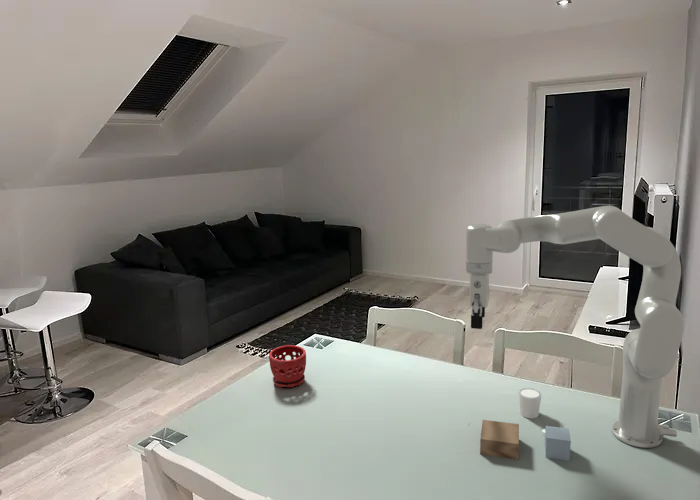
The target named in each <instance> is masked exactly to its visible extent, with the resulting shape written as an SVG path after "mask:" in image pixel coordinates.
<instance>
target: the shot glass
mask: <svg viewBox="0 0 700 500" xmlns="http://www.w3.org/2000/svg"><path fill="white" fill-rule="evenodd" d="M517 392H518V393H517V394H518V395H517V396H518V407H519V408H518V410H519V411H518V412H519V414H520V416H522V417H523V418H526V419H535V418H536V419H537V418H538V417H539V414H540V413H539V412H540V406H541V400H542V393H541V391H540V390H538V389H535V388H529V387H522V388H520V389H519V390H518V391H517Z"/></svg>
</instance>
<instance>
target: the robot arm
mask: <svg viewBox="0 0 700 500" xmlns="http://www.w3.org/2000/svg"><path fill="white" fill-rule="evenodd" d="M465 234H466V235H465V273H466V274H469V306H470V307H471V314H470V328H471V329H474V330H475V329H476V330H477V329H478V330H481V329H483V320H484V319H483V318H485V316H486V308H488V305H489V301H490V294H489V293H490V291H489V290H490V275H491V274H492V273H493V258H494V257H493V256H494V252H496V253H503V254H511V253H514V252H517V251H518V250H519V248H520V246H521V245H522V244H526V243H534V242H547V243H551V244H555V245H557V244H558V245H569V244H574V243H581V242H587V241H594V240H601V241H602V242H604V243H605V244H606V245H609V246H610V247H611V248H613V249H615V250H616V251H618V252H620V253H621V254H623V255H625V256H626V257H628V258H630V259H631V260H633V261H635V262H637V263H638V264H640V265H642V267H643V268H642V269H643V270H642V271H643V272H642V281H641V285H640V289H639V293H638V297H637V300H636V305H635V308H634V314H635V318H636V320H637V322H638V323H639V326H640V327H638V328H635V329H632V330H631V331H630V332H629V333H628V334H626V336H625V338H624V340H623V346H622V362H623V363H622V378H621V379H622V380H621V390H620V399H619V400H620V401H619V415H618V421H616V422H614V423H613V424H612V426H611V432H612V434H613V435H614V437H615V438H616V439H618V440H619V441H621V442H623V443H625V444H627V445H630V446H633V447H638V448H644V449H645V448H646V449H647V448H648V449H649V448H655V447H659V446H660V445H662V442H663V437H664V436H667V437H673V438H676V437H677V434H678V432H677V429H671V428H670V426H669V425H666V424H660V422H659V411H660V410H659V409H660V404H661V403H660V402H661V401H660V400H661V392H662V385H663V384H662V382H663V379H664V378H666V377H667V376H668V375H669V374H671V372H672V370H673V369H674V367H675V364H676V361H677V358H678V354H679V349H680V346H681V342H682V338H683V334H684V328H685V321H684V317H683V314H682V313H681V311H680V310H679V309H678V308H677V305H676V304H677V298H678V293H679V287H680V282H681V276H682V266H681V260H680V256H679V254H678V252H677V249H676V248H675V246H674V244H673V243H672V242H671V240H670V239H669V238H668V237H667V236H665V235H664V234H663V233H662V232H661V231H659V230H658V229H655V228H654V227H650V226H646V225H644V224H643V223H640V222H639V221H637V220H636V219H634V218H632V217H631V216H629V215H628V214H627V213H625V212H624V211H623V210H621V209H620V208H619V207H617V206H614V205H602V206H596V207H591V208H585V209H580V210H579V209H578V210H573V211H566V212H560V213H553V214H546V215H534V216H528V217H527V216H526V217H520V218H516V219H510V220H506V221H503V222H501V223H499V224H498V225H497V226H496V227H492V226H491V225H489V224H484V223H475V224H470V225H468V226H467V228H466V233H465Z"/></svg>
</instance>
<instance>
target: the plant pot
mask: <svg viewBox="0 0 700 500" xmlns="http://www.w3.org/2000/svg"><path fill="white" fill-rule="evenodd" d="M287 356H290V359H288V360H287V359H286V357H287ZM268 357H269V358H268V360H269V367H270V370H271V374H272V375H273V377H272V382H273V384H274V385H275V386H277V387H279V388H282V387H293V388H295V387H294V386H296V387H298V386H297V385H299V386H300V385H302V384H303V383H304V381H306V380H305V378H306V375H305V371H306V367H307V366H306V365H307V352H306V349H305V348H303V347H302V346H298V345H293V344H292V345H291V344H290V345H288V344H287V345H282V346H279V347H278V346H277V347H276V348H273V349H272V350H271V351H270V352H269V355H268ZM301 383H302V384H301Z"/></svg>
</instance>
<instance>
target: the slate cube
mask: <svg viewBox="0 0 700 500" xmlns="http://www.w3.org/2000/svg"><path fill="white" fill-rule="evenodd" d="M544 433H545V434H544V453H545V458H546V459H547V458H548V459H555V460H562V461H567V462H568V461H570V459H571V443H572V442H571V441H572V440H571V434H570V428H566V427H558V426H549V425H545V430H544Z"/></svg>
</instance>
